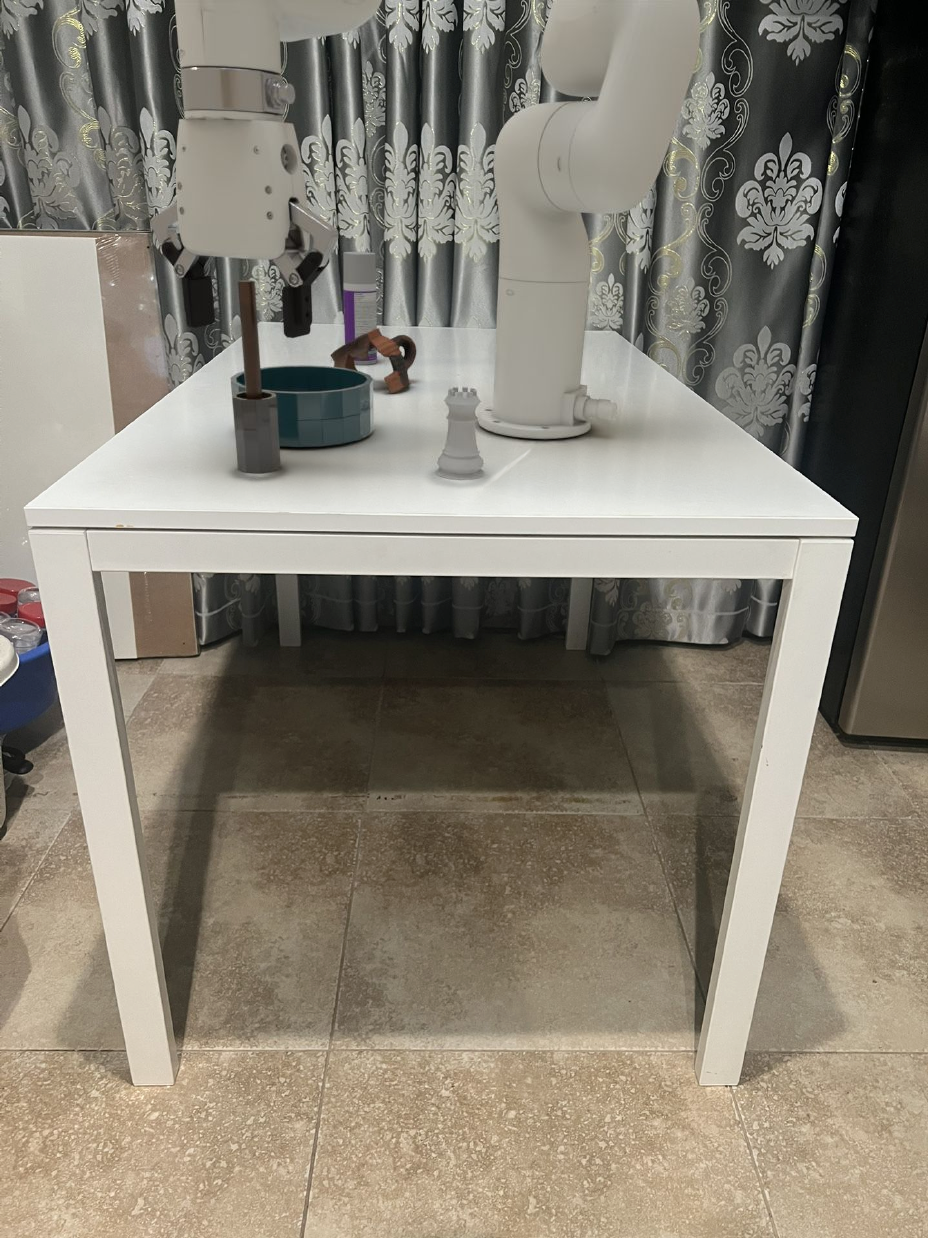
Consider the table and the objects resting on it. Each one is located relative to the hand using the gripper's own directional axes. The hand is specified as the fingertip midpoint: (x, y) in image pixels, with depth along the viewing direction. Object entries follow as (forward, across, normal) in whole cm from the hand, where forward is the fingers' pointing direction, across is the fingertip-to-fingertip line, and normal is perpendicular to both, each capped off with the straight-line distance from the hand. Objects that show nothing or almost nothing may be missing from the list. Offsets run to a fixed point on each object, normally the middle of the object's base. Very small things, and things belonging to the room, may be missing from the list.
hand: (248, 330), depth 77 cm
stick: (+12, 0, 0) cm, 12 cm away
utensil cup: (+12, 0, 0) cm, 13 cm away
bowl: (+12, +3, -13) cm, 18 cm away
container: (+12, +18, -54) cm, 58 cm away
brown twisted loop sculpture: (+13, +8, -40) cm, 43 cm away
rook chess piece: (+13, -17, -7) cm, 22 cm away
